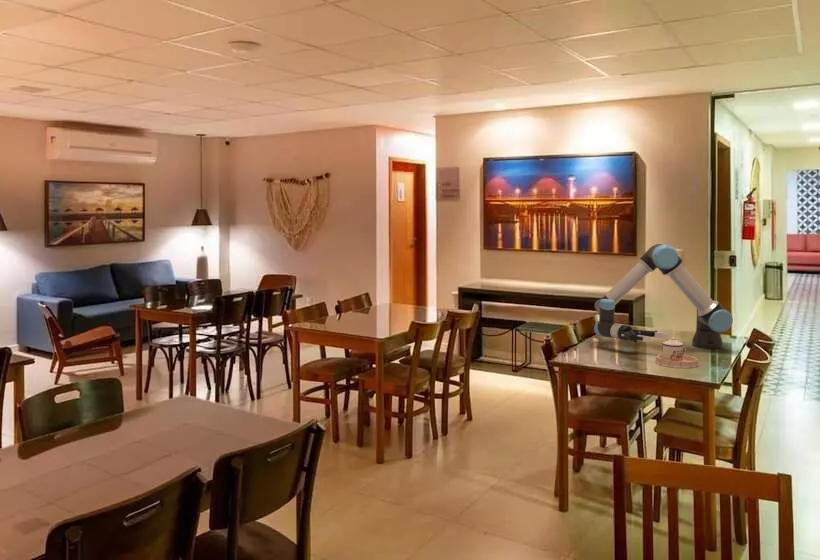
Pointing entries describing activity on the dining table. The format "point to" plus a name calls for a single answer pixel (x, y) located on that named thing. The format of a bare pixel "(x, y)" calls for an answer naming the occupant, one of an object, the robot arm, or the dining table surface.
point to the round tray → (686, 362)
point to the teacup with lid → (673, 350)
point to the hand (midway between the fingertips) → (658, 338)
